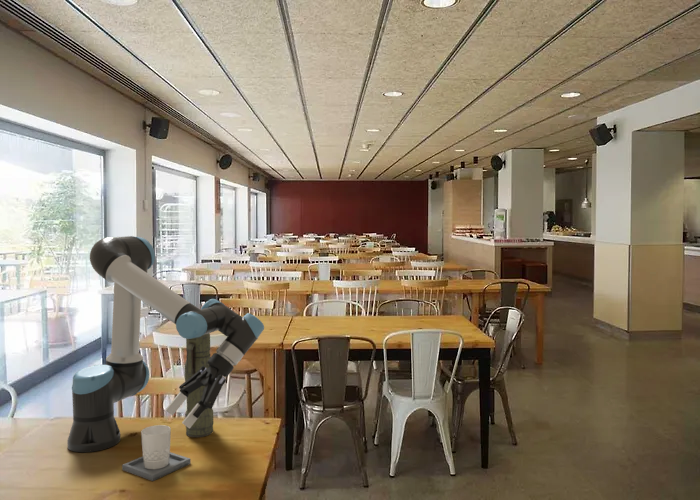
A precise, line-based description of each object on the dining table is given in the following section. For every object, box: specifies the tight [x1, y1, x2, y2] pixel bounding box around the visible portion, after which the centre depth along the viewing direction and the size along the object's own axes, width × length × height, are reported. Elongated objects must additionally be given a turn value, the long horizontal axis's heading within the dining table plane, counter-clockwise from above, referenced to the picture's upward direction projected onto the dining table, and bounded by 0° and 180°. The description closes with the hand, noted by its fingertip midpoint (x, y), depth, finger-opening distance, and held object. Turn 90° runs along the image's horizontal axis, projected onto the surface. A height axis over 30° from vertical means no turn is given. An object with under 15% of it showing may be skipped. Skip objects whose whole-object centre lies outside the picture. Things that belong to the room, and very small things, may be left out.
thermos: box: [184, 333, 214, 438], centre depth 185 cm, size 9×12×35 cm
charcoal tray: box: [121, 451, 192, 482], centre depth 159 cm, size 13×13×2 cm
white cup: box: [140, 424, 172, 470], centre depth 159 cm, size 8×8×10 cm
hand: (176, 419), depth 161 cm, fingers open, 13 cm apart
